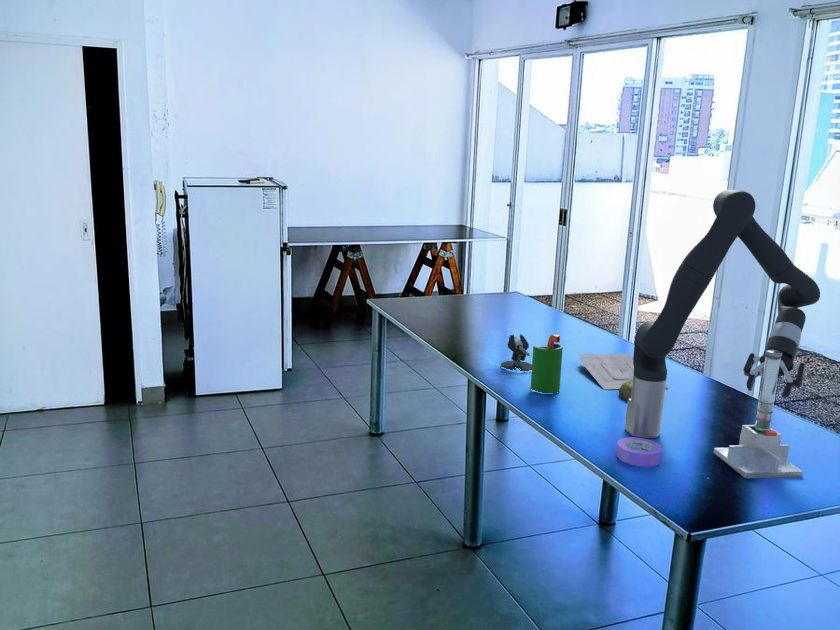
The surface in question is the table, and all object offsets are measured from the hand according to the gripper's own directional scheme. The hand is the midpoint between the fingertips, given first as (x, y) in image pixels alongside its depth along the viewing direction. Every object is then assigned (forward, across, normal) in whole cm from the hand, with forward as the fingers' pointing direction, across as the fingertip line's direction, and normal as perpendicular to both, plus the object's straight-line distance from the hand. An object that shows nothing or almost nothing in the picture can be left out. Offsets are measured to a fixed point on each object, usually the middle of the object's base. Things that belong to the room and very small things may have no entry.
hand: (766, 393), depth 198 cm
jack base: (+14, 0, +16) cm, 21 cm away
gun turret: (-6, -89, +36) cm, 96 cm away
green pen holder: (+3, -71, +26) cm, 76 cm away
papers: (-20, -59, +50) cm, 80 cm away
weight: (-8, -45, +37) cm, 59 cm away
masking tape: (+26, -26, +3) cm, 37 cm away
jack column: (+8, 0, +9) cm, 12 cm away
